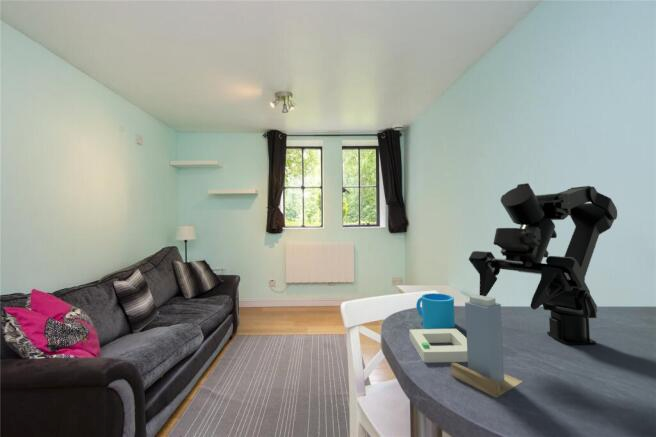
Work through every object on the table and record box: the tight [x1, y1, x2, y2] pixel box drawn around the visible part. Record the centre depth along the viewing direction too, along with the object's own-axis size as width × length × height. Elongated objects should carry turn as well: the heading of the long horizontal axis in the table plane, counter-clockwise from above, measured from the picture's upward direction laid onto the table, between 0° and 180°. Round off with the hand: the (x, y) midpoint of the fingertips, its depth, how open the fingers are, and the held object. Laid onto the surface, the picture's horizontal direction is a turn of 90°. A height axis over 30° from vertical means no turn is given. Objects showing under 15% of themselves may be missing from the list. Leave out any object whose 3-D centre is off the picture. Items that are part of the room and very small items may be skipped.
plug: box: [464, 294, 505, 383], centre depth 50 cm, size 4×4×14 cm
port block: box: [408, 328, 468, 364], centre depth 62 cm, size 11×12×4 cm
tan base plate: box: [450, 362, 524, 398], centre depth 50 cm, size 8×8×3 cm
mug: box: [415, 293, 456, 329], centre depth 79 cm, size 12×8×8 cm
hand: (505, 302), depth 54 cm, fingers open, 9 cm apart
